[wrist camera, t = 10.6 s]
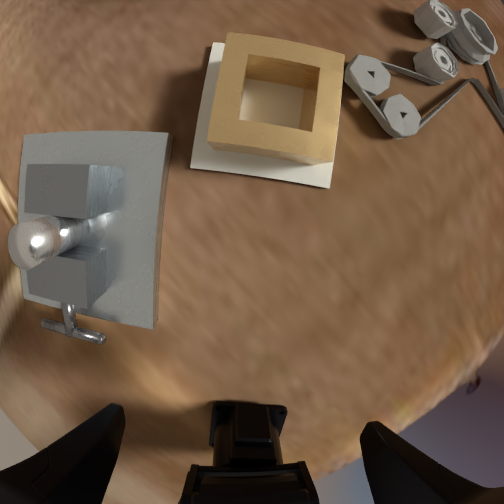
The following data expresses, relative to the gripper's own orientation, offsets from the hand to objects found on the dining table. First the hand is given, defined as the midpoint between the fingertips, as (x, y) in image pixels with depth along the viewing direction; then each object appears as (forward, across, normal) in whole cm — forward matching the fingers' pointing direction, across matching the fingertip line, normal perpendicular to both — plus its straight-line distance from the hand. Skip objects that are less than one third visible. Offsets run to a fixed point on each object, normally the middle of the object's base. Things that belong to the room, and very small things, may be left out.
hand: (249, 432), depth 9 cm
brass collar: (+12, 0, -13) cm, 17 cm away
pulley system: (+13, -18, -22) cm, 31 cm away
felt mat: (+12, 0, -13) cm, 18 cm away
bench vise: (+12, +12, -4) cm, 17 cm away
